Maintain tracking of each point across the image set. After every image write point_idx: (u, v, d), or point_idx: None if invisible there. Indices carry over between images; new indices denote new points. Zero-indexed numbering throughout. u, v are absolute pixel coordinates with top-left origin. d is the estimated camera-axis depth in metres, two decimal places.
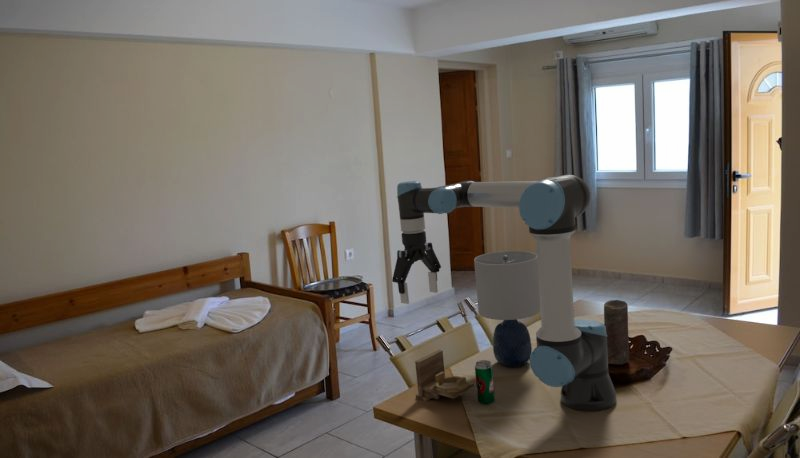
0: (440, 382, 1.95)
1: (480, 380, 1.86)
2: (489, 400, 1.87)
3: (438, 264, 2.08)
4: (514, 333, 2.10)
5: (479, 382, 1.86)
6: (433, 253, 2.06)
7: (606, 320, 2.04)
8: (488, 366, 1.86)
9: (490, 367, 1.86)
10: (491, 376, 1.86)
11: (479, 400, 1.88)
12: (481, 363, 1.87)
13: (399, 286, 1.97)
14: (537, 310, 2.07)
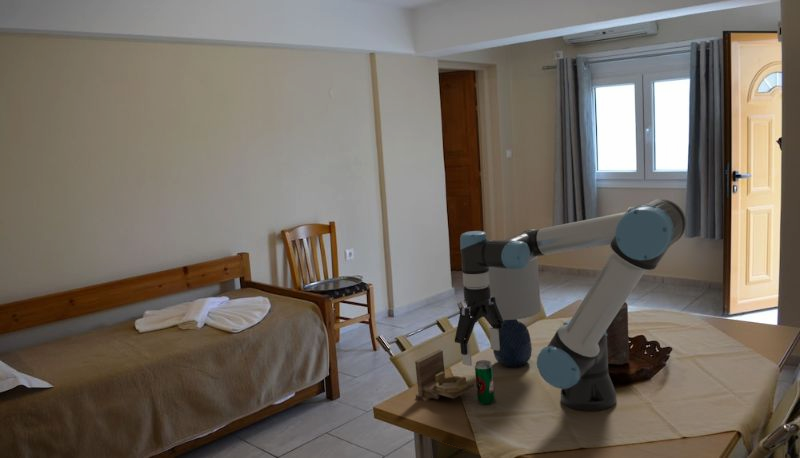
0: (440, 382, 1.95)
1: (480, 380, 1.86)
2: (489, 400, 1.87)
3: (501, 319, 1.91)
4: (514, 333, 2.10)
5: (479, 382, 1.86)
6: (496, 308, 1.89)
7: None
8: (488, 366, 1.86)
9: (490, 367, 1.86)
10: (491, 376, 1.86)
11: (479, 400, 1.88)
12: (481, 363, 1.87)
13: (462, 347, 1.80)
14: (537, 310, 2.07)
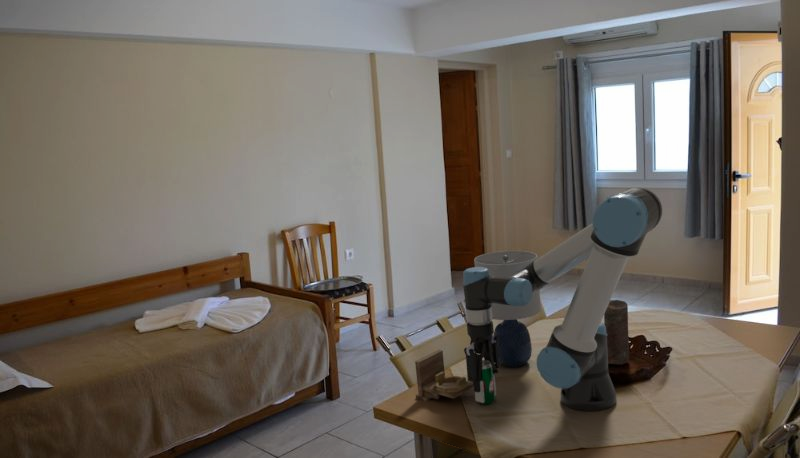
0: (440, 382, 1.95)
1: None
2: (489, 400, 1.87)
3: (498, 363, 1.91)
4: (514, 333, 2.10)
5: None
6: (496, 349, 1.90)
7: (606, 320, 2.04)
8: (488, 366, 1.86)
9: (490, 367, 1.86)
10: (491, 376, 1.86)
11: None
12: None
13: (474, 384, 1.85)
14: (537, 310, 2.07)
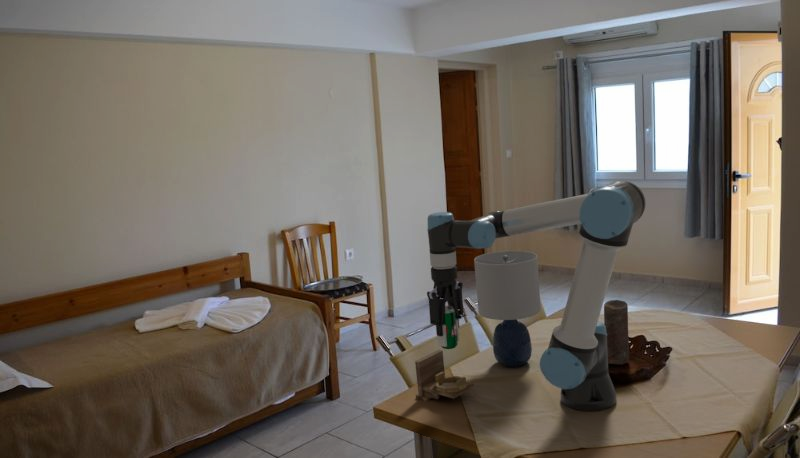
0: (440, 382, 1.95)
1: None
2: (451, 344, 1.88)
3: (461, 309, 1.92)
4: (514, 333, 2.10)
5: None
6: (460, 295, 1.92)
7: (606, 320, 2.04)
8: (451, 310, 1.87)
9: (453, 312, 1.88)
10: (454, 321, 1.88)
11: None
12: None
13: (437, 328, 1.87)
14: (537, 310, 2.07)
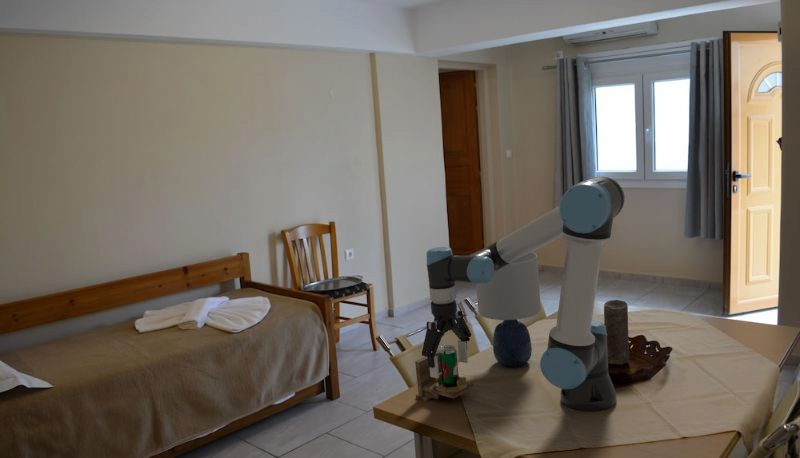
0: (440, 382, 1.95)
1: (444, 364, 1.90)
2: (453, 384, 1.90)
3: (468, 332, 1.96)
4: (514, 333, 2.10)
5: (443, 366, 1.90)
6: (463, 321, 1.94)
7: (606, 320, 2.04)
8: (452, 351, 1.89)
9: (454, 352, 1.90)
10: (455, 361, 1.90)
11: (444, 384, 1.91)
12: (445, 348, 1.91)
13: (429, 360, 1.86)
14: (537, 310, 2.07)
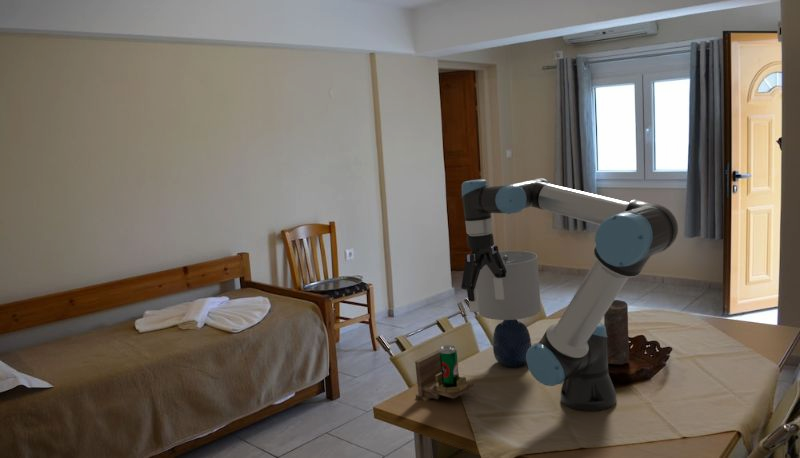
0: (440, 382, 1.95)
1: (444, 364, 1.90)
2: (453, 384, 1.90)
3: (504, 269, 1.94)
4: (514, 333, 2.10)
5: (443, 366, 1.90)
6: (499, 257, 1.92)
7: (606, 320, 2.04)
8: (452, 351, 1.89)
9: (454, 352, 1.90)
10: (456, 361, 1.90)
11: (444, 384, 1.91)
12: (445, 348, 1.91)
13: (468, 293, 1.82)
14: (537, 310, 2.07)
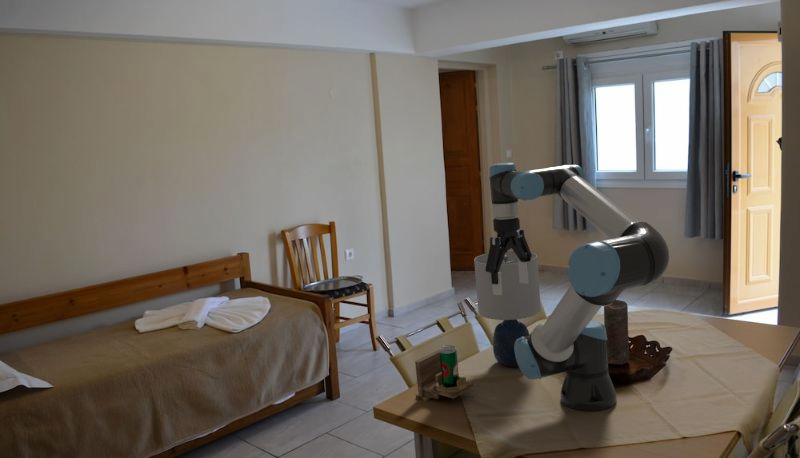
0: (440, 382, 1.95)
1: (444, 364, 1.90)
2: (453, 384, 1.90)
3: (529, 253, 1.93)
4: (514, 333, 2.10)
5: (443, 366, 1.90)
6: (525, 241, 1.91)
7: (606, 320, 2.04)
8: (452, 350, 1.89)
9: (454, 351, 1.90)
10: (456, 361, 1.90)
11: (444, 384, 1.92)
12: (445, 348, 1.91)
13: (492, 276, 1.82)
14: (537, 310, 2.07)
